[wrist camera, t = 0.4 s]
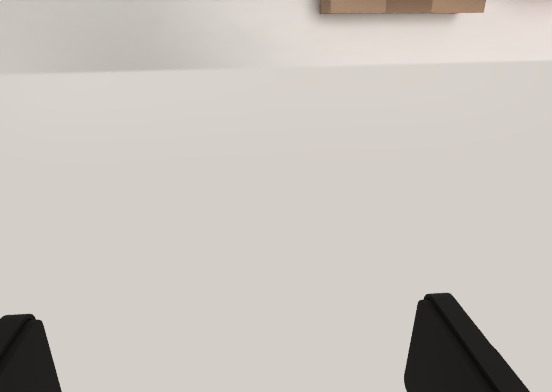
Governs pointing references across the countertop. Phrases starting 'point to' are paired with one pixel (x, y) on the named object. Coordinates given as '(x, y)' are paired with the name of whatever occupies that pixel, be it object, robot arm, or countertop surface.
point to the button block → (401, 6)
